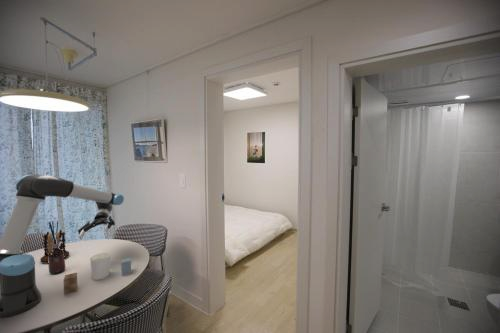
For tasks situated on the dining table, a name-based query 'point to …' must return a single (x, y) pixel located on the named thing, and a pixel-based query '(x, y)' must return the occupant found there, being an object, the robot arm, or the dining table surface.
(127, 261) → the slate-blue block
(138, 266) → the dining table surface
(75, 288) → the walnut block
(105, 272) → the candle holder
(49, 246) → the brown dark-edged pieces
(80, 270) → the dining table surface
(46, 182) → the robot arm
